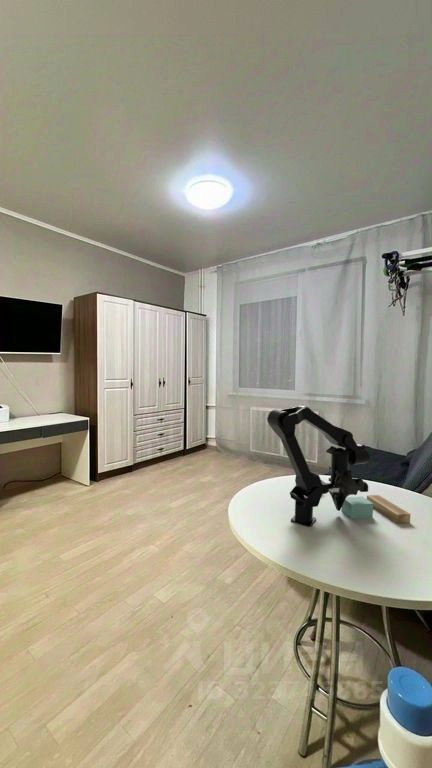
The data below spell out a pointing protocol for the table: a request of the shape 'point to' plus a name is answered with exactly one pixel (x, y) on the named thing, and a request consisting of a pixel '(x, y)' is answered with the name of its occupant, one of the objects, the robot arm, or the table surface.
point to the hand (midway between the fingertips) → (338, 510)
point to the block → (357, 507)
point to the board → (389, 509)
